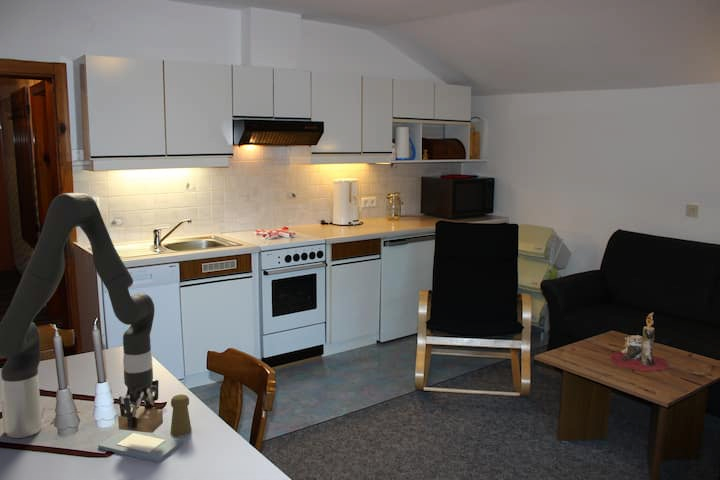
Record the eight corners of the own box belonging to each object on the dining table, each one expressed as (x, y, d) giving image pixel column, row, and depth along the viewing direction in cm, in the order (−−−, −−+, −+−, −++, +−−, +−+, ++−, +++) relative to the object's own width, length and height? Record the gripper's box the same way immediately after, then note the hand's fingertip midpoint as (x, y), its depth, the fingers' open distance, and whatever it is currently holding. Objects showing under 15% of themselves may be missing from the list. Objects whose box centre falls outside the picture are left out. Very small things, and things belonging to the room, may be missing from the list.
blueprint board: (98, 448, 173) (98, 444, 173) (125, 430, 183) (125, 427, 183) (158, 462, 166) (158, 458, 166) (183, 443, 176) (183, 439, 176)
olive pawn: (185, 437, 180) (184, 401, 178) (166, 434, 181) (165, 399, 179) (195, 427, 186) (194, 393, 184) (176, 425, 187) (175, 391, 185)
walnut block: (118, 429, 172) (118, 415, 171) (130, 419, 177) (129, 406, 177) (152, 433, 170) (151, 419, 169) (162, 423, 176) (162, 409, 175)
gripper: (143, 355, 178) (146, 410, 181) (108, 373, 165) (111, 432, 168) (165, 359, 176) (168, 414, 179) (131, 378, 163) (134, 437, 166)
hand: (140, 422), depth 173 cm, fingers closed on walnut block, 6 cm apart
